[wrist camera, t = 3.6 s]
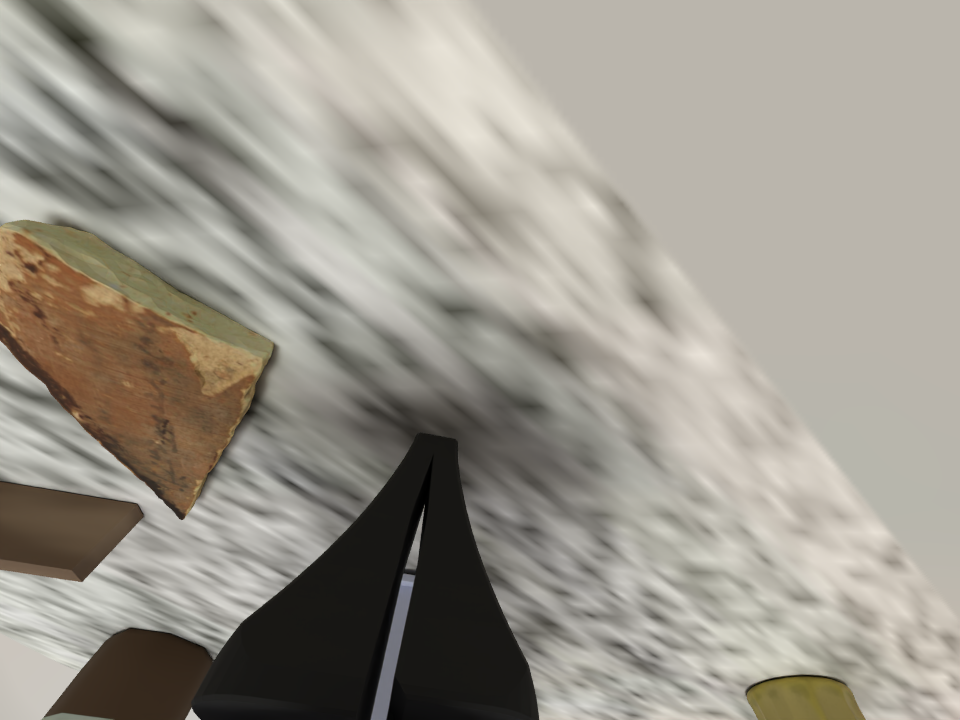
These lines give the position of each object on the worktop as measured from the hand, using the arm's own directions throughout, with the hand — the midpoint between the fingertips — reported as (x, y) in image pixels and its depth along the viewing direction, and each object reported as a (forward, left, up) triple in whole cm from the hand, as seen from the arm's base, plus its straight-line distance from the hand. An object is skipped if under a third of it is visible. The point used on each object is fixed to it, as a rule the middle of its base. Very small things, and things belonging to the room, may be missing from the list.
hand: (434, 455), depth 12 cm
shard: (0, +9, -2) cm, 9 cm away
